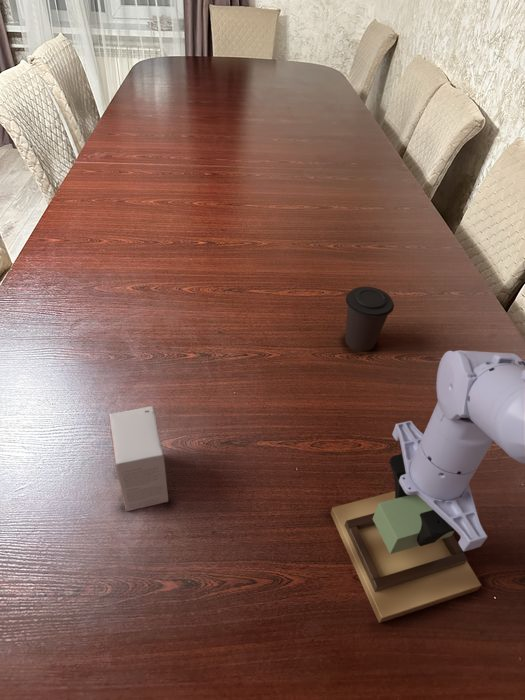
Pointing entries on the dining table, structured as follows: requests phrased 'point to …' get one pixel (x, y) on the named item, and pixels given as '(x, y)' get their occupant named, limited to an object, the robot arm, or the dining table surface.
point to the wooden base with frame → (401, 564)
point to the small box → (138, 458)
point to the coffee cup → (366, 316)
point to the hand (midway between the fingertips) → (414, 520)
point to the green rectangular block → (401, 522)
